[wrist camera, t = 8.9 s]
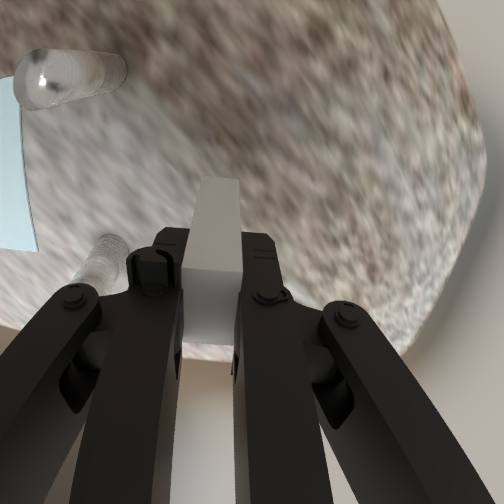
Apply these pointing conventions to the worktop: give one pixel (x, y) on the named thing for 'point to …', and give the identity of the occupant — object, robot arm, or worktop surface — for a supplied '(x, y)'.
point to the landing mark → (13, 176)
